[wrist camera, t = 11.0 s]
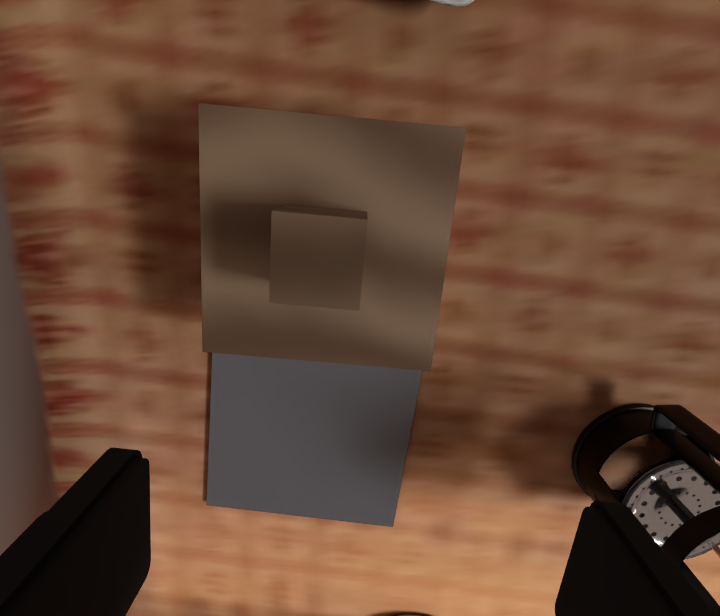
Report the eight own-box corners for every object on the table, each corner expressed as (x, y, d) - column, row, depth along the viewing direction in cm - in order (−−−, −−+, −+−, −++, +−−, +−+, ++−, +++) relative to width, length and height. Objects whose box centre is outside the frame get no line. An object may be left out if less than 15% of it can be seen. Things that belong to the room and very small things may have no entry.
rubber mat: (392, 523, 39) (392, 526, 39) (208, 501, 39) (206, 505, 38) (424, 354, 34) (425, 356, 34) (215, 327, 34) (213, 329, 34)
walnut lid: (428, 365, 28) (440, 403, 24) (206, 347, 28) (176, 381, 24) (462, 129, 24) (485, 119, 20) (203, 105, 24) (165, 90, 20)
